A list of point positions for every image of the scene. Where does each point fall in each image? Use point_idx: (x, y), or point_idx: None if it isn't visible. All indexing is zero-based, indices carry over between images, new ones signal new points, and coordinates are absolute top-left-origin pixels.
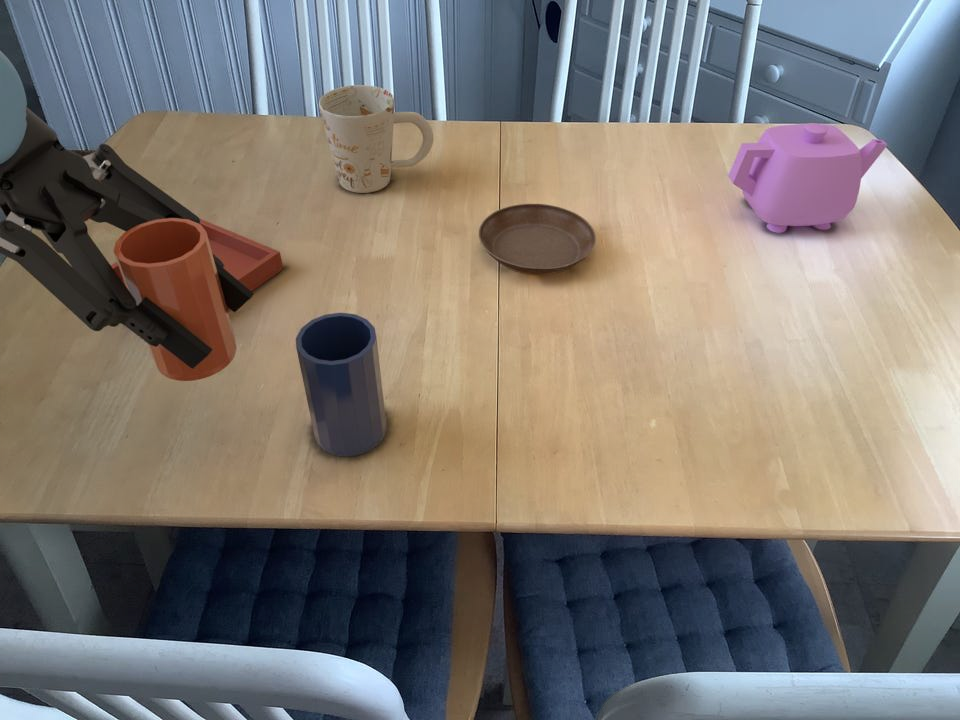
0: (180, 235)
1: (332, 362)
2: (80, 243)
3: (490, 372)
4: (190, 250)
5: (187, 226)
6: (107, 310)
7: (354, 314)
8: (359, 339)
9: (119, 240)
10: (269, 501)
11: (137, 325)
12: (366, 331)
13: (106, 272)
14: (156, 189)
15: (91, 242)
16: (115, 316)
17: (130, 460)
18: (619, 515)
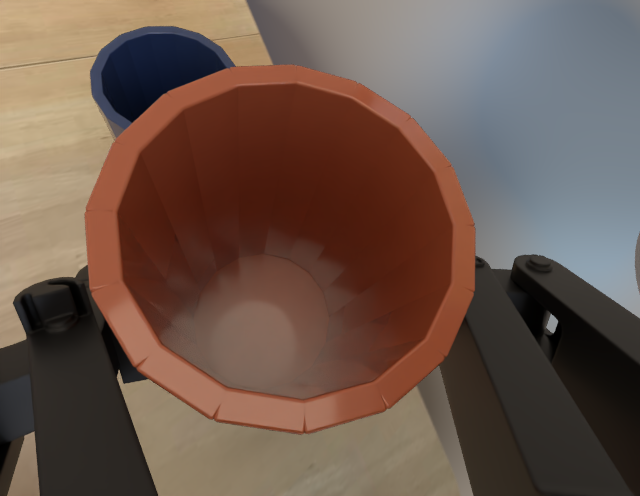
0: (141, 275)
1: (231, 65)
2: (599, 455)
3: (34, 72)
4: (153, 270)
5: (124, 211)
6: (547, 259)
7: (91, 71)
8: (119, 98)
9: (374, 396)
10: None
11: None
12: (121, 59)
13: (504, 326)
14: None
15: (530, 438)
16: (507, 270)
17: (343, 425)
18: None
